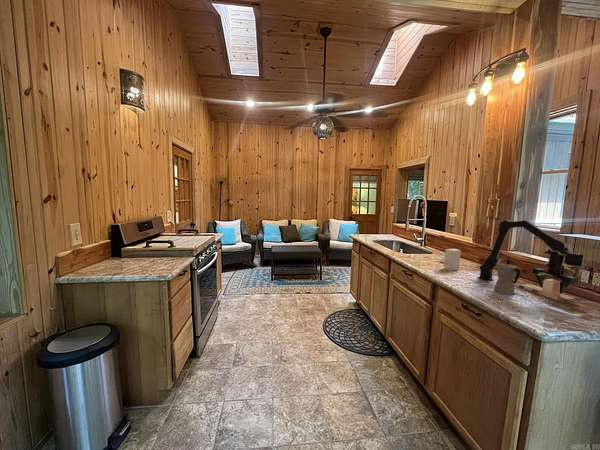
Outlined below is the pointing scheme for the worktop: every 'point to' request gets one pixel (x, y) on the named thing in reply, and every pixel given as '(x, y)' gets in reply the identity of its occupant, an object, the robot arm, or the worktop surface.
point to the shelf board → (539, 291)
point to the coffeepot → (506, 278)
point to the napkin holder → (443, 259)
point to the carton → (551, 286)
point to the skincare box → (452, 259)
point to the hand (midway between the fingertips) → (551, 290)
